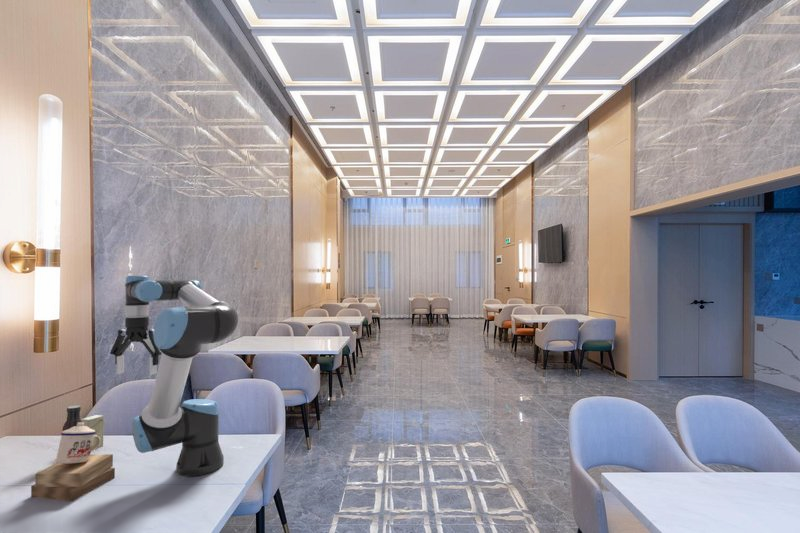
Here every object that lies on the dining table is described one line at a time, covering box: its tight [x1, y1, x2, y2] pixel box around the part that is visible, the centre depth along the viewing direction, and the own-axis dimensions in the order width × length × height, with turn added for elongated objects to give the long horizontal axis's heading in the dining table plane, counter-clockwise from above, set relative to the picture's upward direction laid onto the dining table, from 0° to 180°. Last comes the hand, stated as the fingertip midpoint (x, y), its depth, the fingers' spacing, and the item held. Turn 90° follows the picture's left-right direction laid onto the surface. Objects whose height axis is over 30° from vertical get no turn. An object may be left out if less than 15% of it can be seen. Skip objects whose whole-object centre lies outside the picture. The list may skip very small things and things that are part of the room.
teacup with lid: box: [55, 423, 100, 463], centre depth 137 cm, size 12×9×12 cm
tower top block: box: [34, 453, 114, 487], centre depth 135 cm, size 14×14×4 cm
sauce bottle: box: [61, 405, 82, 433], centre depth 155 cm, size 7×6×20 cm
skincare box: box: [80, 414, 105, 449], centre depth 167 cm, size 6×4×12 cm
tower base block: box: [30, 467, 116, 502], centre depth 135 cm, size 15×15×4 cm
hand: (136, 373), depth 157 cm, fingers open, 13 cm apart
